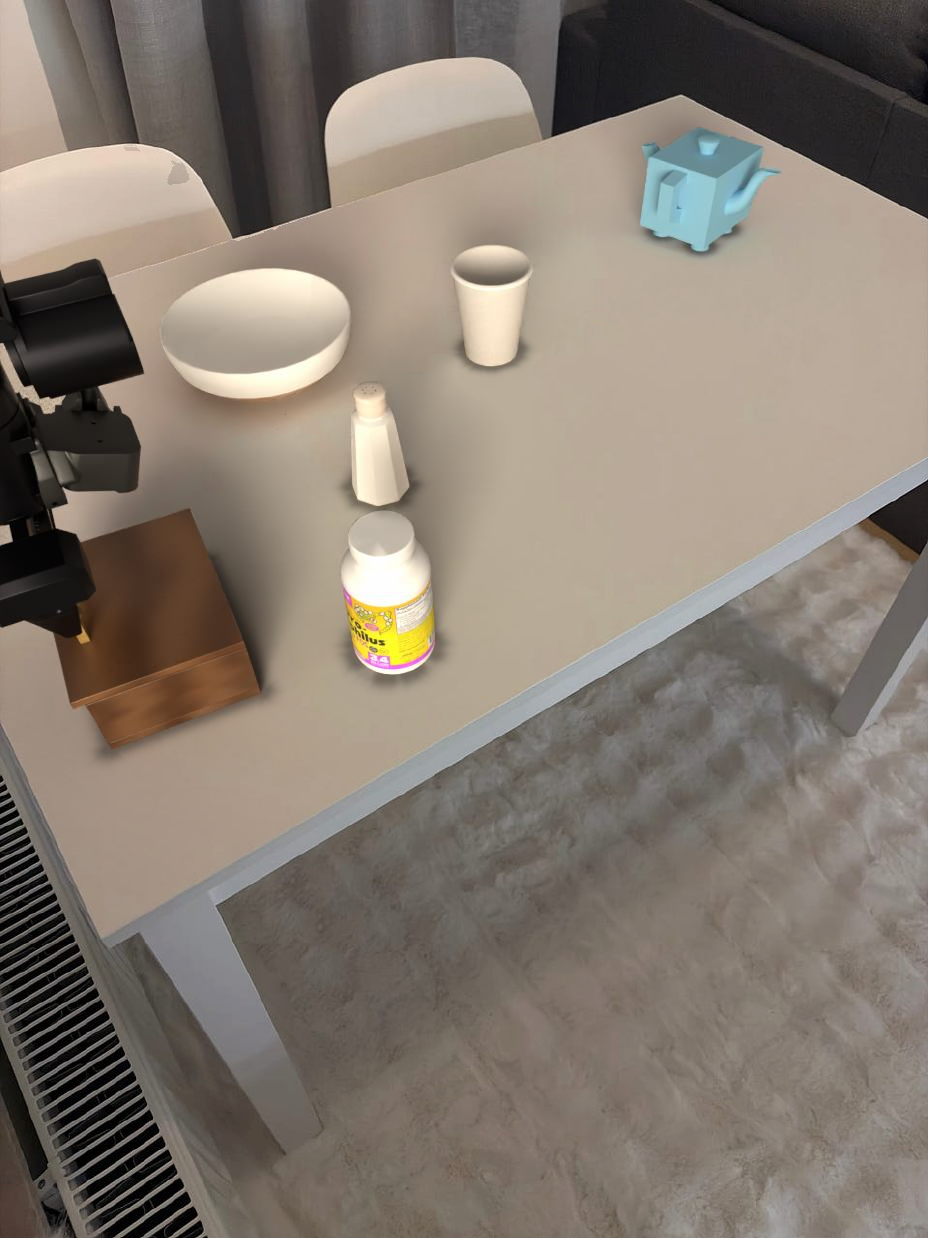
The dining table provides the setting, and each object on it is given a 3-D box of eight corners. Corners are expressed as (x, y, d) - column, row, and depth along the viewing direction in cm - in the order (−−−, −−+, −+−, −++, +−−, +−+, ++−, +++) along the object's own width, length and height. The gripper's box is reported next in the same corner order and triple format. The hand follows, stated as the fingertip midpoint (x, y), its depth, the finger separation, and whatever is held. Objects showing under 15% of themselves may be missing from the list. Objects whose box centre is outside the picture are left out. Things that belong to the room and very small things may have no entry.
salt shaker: (348, 506, 84) (332, 409, 76) (356, 467, 88) (341, 370, 79) (406, 507, 84) (397, 410, 76) (412, 468, 87) (404, 371, 79)
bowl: (135, 390, 96) (117, 339, 92) (252, 300, 107) (241, 250, 102) (283, 448, 90) (272, 397, 85) (392, 347, 100) (387, 296, 96)
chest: (111, 749, 68) (85, 705, 64) (74, 606, 77) (49, 559, 73) (261, 693, 71) (245, 647, 67) (208, 561, 80) (192, 513, 76)
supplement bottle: (338, 639, 74) (315, 526, 64) (405, 601, 77) (392, 486, 67) (384, 692, 71) (367, 582, 61) (452, 650, 73) (447, 537, 63)
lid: (73, 709, 63) (46, 666, 60) (38, 562, 72) (13, 516, 69) (245, 647, 67) (230, 602, 63) (191, 513, 76) (175, 467, 72)
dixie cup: (525, 376, 96) (528, 289, 89) (447, 370, 97) (443, 284, 90) (533, 331, 102) (537, 246, 94) (459, 326, 103) (457, 240, 95)
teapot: (669, 188, 122) (682, 97, 114) (791, 230, 115) (816, 137, 106) (599, 235, 115) (609, 141, 106) (725, 283, 107) (746, 187, 98)
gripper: (140, 467, 50) (207, 642, 62) (79, 301, 61) (145, 477, 73) (-74, 531, 47) (39, 702, 59) (-98, 344, 58) (1, 521, 70)
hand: (63, 589), depth 66 cm, fingers open, 9 cm apart
